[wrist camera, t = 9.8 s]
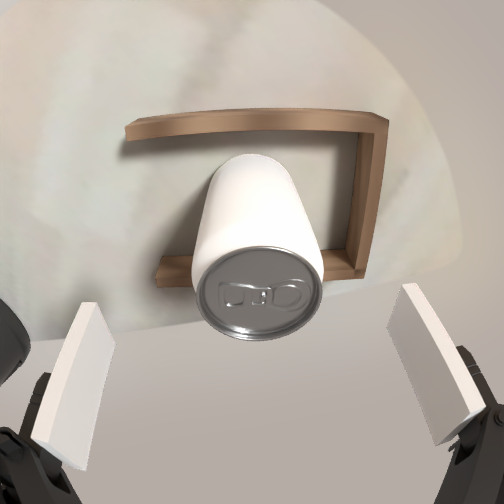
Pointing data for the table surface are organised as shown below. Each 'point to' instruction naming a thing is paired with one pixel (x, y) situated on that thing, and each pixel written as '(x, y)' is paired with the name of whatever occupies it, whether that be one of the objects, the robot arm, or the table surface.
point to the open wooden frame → (366, 123)
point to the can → (256, 253)
